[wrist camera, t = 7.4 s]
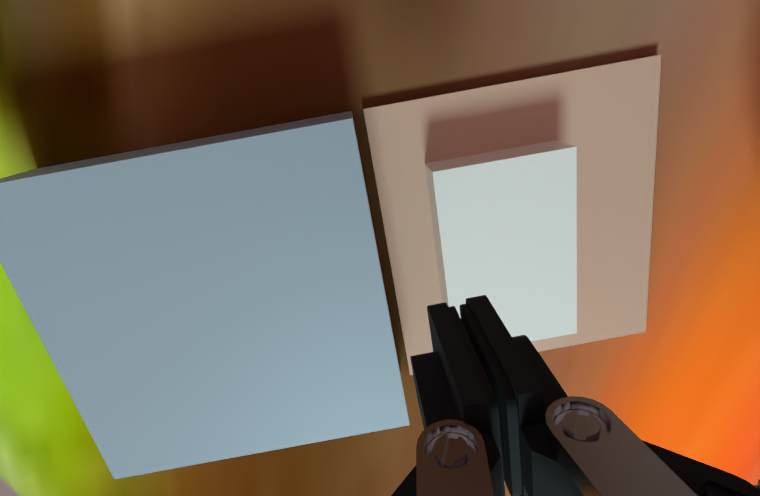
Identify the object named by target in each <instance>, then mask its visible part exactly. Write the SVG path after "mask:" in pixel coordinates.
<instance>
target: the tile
mask: <svg viewBox="0 0 760 496" xmlns="http://www.w3.org/2000/svg"><path fill="white" fill-rule="evenodd" d="M425 170H426V178H427V186H428V194H429V202H430V210H431V218H432V225H433V233H434V241H435V249H436V257H437V265H438V273H439V280H440V288H441V296H442V303H444V302H446V303H447V305H448V307H451V306H455V308H456V310H457V312H458V314H459V316H460V305H462V304H466V298H471V297H477V296H482V295H486V296H487V297H488V299H489V301H490V302H491V304H492V306H493V307H494V309H495V310H496V312H497V314H498V315H499V317H500V319H501V320H502V322H503V324H504V325H505V327H506V328H507V330H508V332H509V333H510V335H511V337H515V336H520V335H526V336H527V337H528V338H529V340H530V341H536V340H541V339H547V338H553V337H558V336H564V335H570V334H575V333H577V147H576V146H573V145H569V144H566V143H563V142H559V141H556V140H554V141H549V142H543V143H537V144H532V145H526V146H521V147H515V148H509V149H504V150H498V151H492V152H487V153H481V154H475V155H470V156H464V157H458V158H453V159H447V160H441V161H436V162H430V163H425ZM460 319H461V316H460Z"/></svg>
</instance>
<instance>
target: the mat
mask: <svg viewBox="0 0 760 496" xmlns="http://www.w3.org/2000/svg"><path fill="white" fill-rule="evenodd" d="M660 68H661V55H653V56H648V57H643V58H637V59H632V60H626V61H621V62H615V63H610V64H604V65H599V66H593V67H588V68H583V69H577V70H572V71H566V72H561V73H555V74H550V75H544V76H539V77H533V78H528V79H522V80H517V81H512V82H506V83H501V84H495V85H490V86H484V87H479V88H473V89H468V90H462V91H457V92H452V93H446V94H441V95H435V96H430V97H424V98H419V99H413V100H408V101H402V102H397V103H392V104H386V105H381V106H375V107H370V108H364V109H363V112H364V117H365V123H366V129H367V134H368V140H369V146H370V151H371V157H372V163H373V168H374V174H375V180H376V185H377V191H378V197H379V202H380V208H381V214H382V219H383V225H384V231H385V236H386V242H387V248H388V253H389V259H390V265H391V270H392V276H393V282H394V287H395V293H396V299H397V304H398V310H399V316H400V321H401V327H402V333H403V338H404V344H405V350H406V355H407V361H408V367H409V372H410V375H413V370H412V365H411V358H410V356H414V355H419V354H424V353H430V352H433V347H432V340H431V333H430V326H429V319H428V312H427V306H428V305H434V304H439V303H442V296H441V288H440V280H439V273H438V265H437V257H436V249H435V241H434V233H433V225H432V218H431V210H430V202H429V194H428V186H427V178H426V170H425V163H430V162H436V161H441V160H447V159H453V158H458V157H464V156H470V155H475V154H481V153H487V152H492V151H498V150H504V149H509V148H515V147H521V146H526V145H532V144H537V143H543V142H549V141H554V140H556V141H559V142H563V143H566V144H569V145H573V146H576V147H577V333H575V334H570V335H564V336H558V337H553V338H547V339H541V340H536V341H531V343H532V344H533V346H534V347H535V349H536V350H537V351H538V352H539V351H544V350H550V349H555V348H561V347H566V346H572V345H577V344H583V343H588V342H593V341H599V340H604V339H610V338H615V337H621V336H626V335H631V334H637V333H642V332H646V318H647V301H648V283H649V265H650V247H651V229H652V211H653V193H654V175H655V158H656V140H657V122H658V104H659V86H660Z"/></svg>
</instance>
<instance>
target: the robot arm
mask: <svg viewBox="0 0 760 496" xmlns="http://www.w3.org/2000/svg"><path fill="white" fill-rule="evenodd" d="M427 312H428V319H429V326H430V333H431V340H432V347H433V352H430V353H424V354H419V355H414V356H410V358H411V365H412V370H413V376H414V382H415V387H416V393H417V398H418V403H419V407H420V412H421V416H422V421H423V425H424V431H422V433H421V435H420V436H419V438H418V441H417V446H416V466H415V467H414V468H413V470H412V471H411V472H410V473H409V475H408V476H407V477H406V478H405V480H404V481H403V482H402V483H401V484H400V486H399V487H398V488H397V489H396V491H395V492H394V493H393V494H392V496H505V486H504V480H505V483H506V485H507V488H508V490H509V493H510V495H511V496H518V495H519V496H760V479H759V481H758V485H752V484H750V483H749V482H747V481H746V480H743V479H741V478H739V477H737V476H735V475H733V474H730V473H728V472H725V471H722V470H720V469H717V468H714V467H712V466H709V465H706V464H704V463H701V462H698V461H696V460H693V459H690V458H688V457H685V456H682V455H680V454H677V453H674V452H672V451H669V450H666V449H664V448H661V447H658V446H656V445H653V444H650V443H648V442H645V441H642V440H641V439H640V438H639V437H638V436H637V435H636V434H635V433H633V432H632V431H631V430H630V429H629V428H628V427H627V426H626V425H625V424H624V423H623V422H622V421H621V420H620V419H619V418H618V417H617V416H616V415H615V414H614V413H613V412H612V411H611V410H610V409H609V408H607V407H606V406H605V405H603V404H601V403H599V402H597V401H595V400H593V399H589V398H585V397H574V396H570V397H568V396H567V395H566V393H565V392H564V390H563V389H562V387H561V386H560V384H559V383H558V381H557V380H556V378H555V377H554V375H553V374H552V372H551V371H550V369H549V368H548V366H547V365H546V363H545V362H544V360H543V359H542V357H541V356H540V354H539V353H538V351H537V350H536V349H535V347H534V346H533V344H532V343H531V341H530V340H529V338H528V337H527V336H526V335H520V336H515V337H511V335H510V333H509V332H508V330H507V328H506V327H505V325H504V324H503V322H502V320H501V319H500V317H499V315H498V314H497V312H496V310H495V309H494V307H493V306H492V304H491V302H490V301H489V299H488V297H487V296H486V295H482V296H477V297H471V298H466V304H462V305H460V316H461V319H460V316H459V314H458V312H457V310H456V308H455V306H451V307H448V305H447V303H446V302H444V303H439V304H434V305H428V306H427Z"/></svg>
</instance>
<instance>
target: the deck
mask: <svg viewBox="0 0 760 496" xmlns="http://www.w3.org/2000/svg"><path fill="white" fill-rule="evenodd" d="M0 263H1V264H2V266H3V268H4V270H5V272H6V274H7V276H8V278H9V280H10V282H11V283H12V285H13V287H14V289H15V291H16V293H17V295H18V297H19V299H20V301H21V302H22V304H23V306H24V308H25V310H26V312H27V314H28V316H29V318H30V320H31V321H32V323H33V325H34V327H35V329H36V331H37V333H38V335H39V337H40V339H41V341H42V342H43V344H44V346H45V348H46V350H47V352H48V354H49V356H50V358H51V360H52V361H53V363H54V365H55V367H56V369H57V371H58V373H59V375H60V377H61V379H62V380H63V382H64V384H65V386H66V388H67V390H68V392H69V394H70V396H71V398H72V400H73V401H74V403H75V405H76V407H77V409H78V411H79V413H80V415H81V417H82V419H83V420H84V422H85V424H86V426H87V428H88V430H89V432H90V434H91V436H92V438H93V439H94V441H95V443H96V445H97V447H98V449H99V451H100V453H101V455H102V457H103V459H104V460H105V462H106V464H107V466H108V468H109V470H110V472H111V474H112V476H113V478H114V479H119V478H124V477H130V476H135V475H141V474H146V473H151V472H157V471H162V470H168V469H173V468H179V467H184V466H189V465H195V464H200V463H206V462H211V461H217V460H222V459H228V458H233V457H238V456H244V455H249V454H255V453H260V452H266V451H271V450H277V449H282V448H287V447H293V446H298V445H304V444H309V443H315V442H320V441H325V440H331V439H336V438H342V437H347V436H353V435H358V434H364V433H369V432H374V431H380V430H385V429H391V428H396V427H402V426H407V425H409V419H408V413H407V408H406V402H405V396H404V391H403V385H402V379H401V373H400V368H399V363H398V357H397V352H396V346H395V341H394V336H393V330H392V325H391V320H390V314H389V309H388V303H387V298H386V293H385V287H384V282H383V276H382V271H381V266H380V260H379V255H378V250H377V244H376V239H375V233H374V228H373V223H372V217H371V212H370V206H369V201H368V196H367V190H366V185H365V179H364V174H363V169H362V163H361V158H360V153H359V147H358V142H357V136H356V131H355V126H354V120H353V115H352V111H348V112H342V113H337V114H331V115H326V116H321V117H315V118H310V119H304V120H299V121H293V122H288V123H282V124H277V125H271V126H266V127H261V128H255V129H250V130H244V131H239V132H233V133H228V134H222V135H217V136H211V137H206V138H200V139H195V140H190V141H184V142H179V143H173V144H168V145H162V146H157V147H151V148H146V149H140V150H135V151H130V152H124V153H119V154H113V155H108V156H102V157H97V158H91V159H86V160H80V161H75V162H69V163H64V164H59V165H53V166H48V167H42V168H37V169H33V170H30V171H26V172H23V173H19V174H16V175H12V176H9V177H5V178H2V179H0Z"/></svg>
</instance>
